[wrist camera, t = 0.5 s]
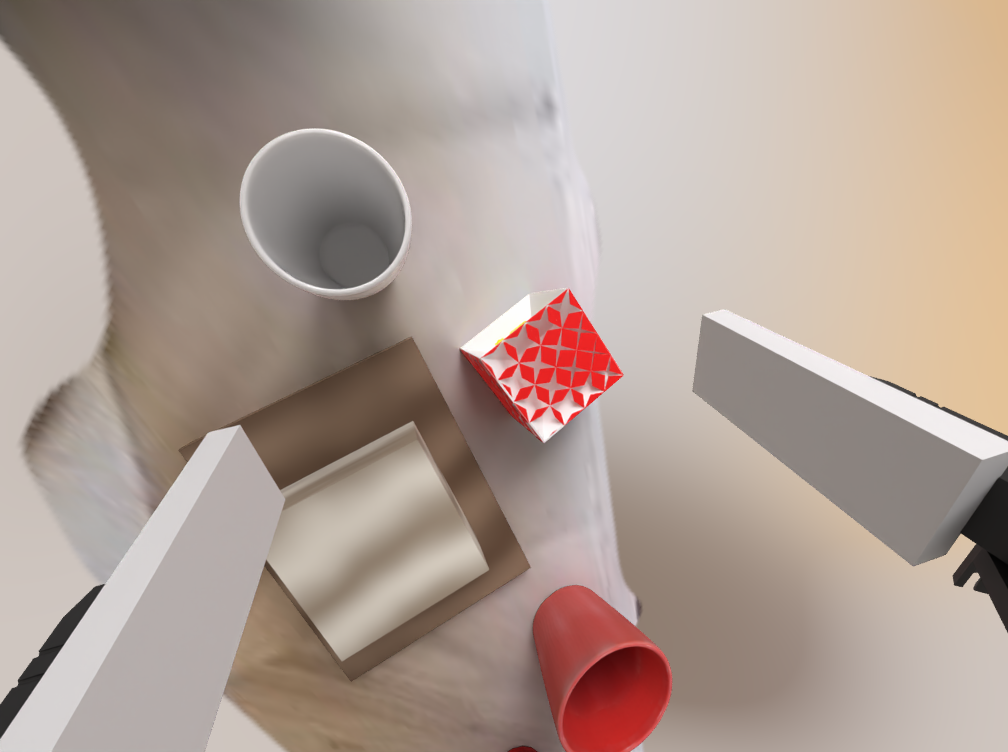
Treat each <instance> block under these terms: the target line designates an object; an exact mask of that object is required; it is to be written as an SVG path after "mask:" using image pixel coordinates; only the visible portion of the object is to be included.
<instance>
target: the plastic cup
mask: <svg viewBox="0 0 1008 752" xmlns="http://www.w3.org/2000/svg"><path fill="white" fill-rule="evenodd" d="M508 752H537V751H536V750H534V749H533V748H532V747H525V746H522V747H518V748H513V749H511V750H510V751H508Z"/></svg>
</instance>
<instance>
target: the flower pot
mask: <svg viewBox="0 0 1008 752" xmlns="http://www.w3.org/2000/svg"><path fill="white" fill-rule="evenodd" d="M533 635H534V640H535V644H536V649H537V654H538V659H539V663H540V667H541V672H542V676H543V680H544V684H545V688H546V692H547V696H548V700H549V704H550V708H551V712H552V715H553V719H554V723H555V726H556V730H557V734H558V737H559V740H560V742H561V744H562V746H563V748H564V749H565V751H566V752H630V751H632V750H633V749H634V748H636V747H637V746H638V745H640V744H641V743H642V742H643V741H644V740H645V739H646V738H647V737H648V736H649V735H650V734H651V732H652V731H653V730H654V729H655V727H656V726H657V724H658V723H659V722H660V720H661V718H662V716H663V714H664V712H665V710H666V708H667V706H668V703H669V700H670V696H671V690H672V673H671V668H670V665H669V662H668V660H667V658H666V657H665V655H664V653H663V652H662V651H661V650H660V649H659V648H658V647H657V646H656V645H655V644H654V643H653V642H652V641H651V640H650V639H649V638H648V637H647V636H645V635H644V634H643V633H642V632H641V631H640V630H639V629H638V628H636V627H635V626H634V625H633V624H632V623H631V622H629V621H628V620H627V619H626V618H625V617H624V616H623V615H621V614H620V613H619V612H618V611H616V610H615V609H614V608H613V607H612V606H610V605H609V604H608V603H607V602H605V601H604V600H603V599H602V598H600V597H599V596H598V595H597V594H595V593H594V592H593V591H592V590H590V589H588V588H586V587H584V586H579V585H572V586H567V587H563V588H561V589H559V590H557V591H555V592H554V593H553V594H552V595H551V596H550V597H548V598H547V599H546V600H545V601H544V602H543V603H542V604H541V606H540V607H539V609H538V611H537V613H536V615H535V619H534V623H533Z"/></svg>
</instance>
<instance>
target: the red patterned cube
mask: <svg viewBox="0 0 1008 752" xmlns="http://www.w3.org/2000/svg"><path fill="white" fill-rule="evenodd" d="M460 350H461V351H462V353H463V354H464V356H465V357H466V358H467V360H468V359H469V360H468V361H469V362H470V363H471V364H472V365H473V366H474V368H475V369H476V370H477V372H478V373H479V374H480V376H481V377H482V378H483V379H484V381H485V382H486V383H487V385H488V386H489V387H490V388H491V390H492V391H493V392H494V394H495V395H496V396H497V398H498V399H499V400H500V401H501V403H502V404H503V405H504V407H505V408H506V409H507V411H508V412H509V413H510V415H511V416H512V417H513V418H514V419H516V420H517V421H518V422H519V423H520V424H522V425H523V426H524V427H526V429H527V430H529V431H530V432H531V433H532V434H534V435H535V436H536V438H538V439H539V440H540V441H542V442H543V443H545V442H546V441H547V440H549V439H550V438H551V437H552V436H553V435H554V434H556V433H557V432H558V431H559V430H560V429H561V428H563V427H564V426H565V425H566V424H567V423H568V422H570V421H571V420H572V419H573V418H574V417H575V416H577V415H578V414H579V413H580V412H581V411H582V410H584V409H585V408H586V407H587V406H588V405H589V404H591V403H592V402H593V401H594V400H595V399H597V398H598V397H599V396H600V395H601V394H602V393H603V392H605V391H606V390H607V389H608V388H609V387H611V386H612V385H613V384H614V383H615V382H616V381H618V380H619V379H620V378H621V377H622V376H623V373H622V371H621V370H620V368H619V367H618V365H617V363H616V362H615V360H614V359H613V357H612V356H611V354H610V353H609V351H608V349H607V348H606V346H605V345H604V343H603V341H602V340H601V338H600V337H599V335H598V334H597V332H596V330H595V329H594V327H593V326H592V324H591V323H590V321H589V319H588V318H587V316H586V315H585V313H584V312H583V310H582V308H581V307H580V305H579V304H578V302H577V300H576V299H575V297H574V296H573V294H572V293H571V291H570V289H569V288H564V289H556V290H549V291H542V292H535V293H529V294H528V295H527V296H526V297H525V298H523V299H522V300H521V301H520V302H518V303H517V304H516V305H515V306H513V307H512V308H511V309H509V310H508V311H507V312H506V313H504V314H503V315H502V316H501V317H499V318H498V319H497V320H496V321H494V322H493V323H492V324H490V325H489V326H488V327H487V328H485V329H484V330H483V331H482V332H480V333H479V334H478V335H476V336H475V337H474V338H473V339H471V340H470V341H469V342H468V343H466V344H465V345H464V346H463V347H461V348H460Z"/></svg>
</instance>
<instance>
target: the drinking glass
mask: <svg viewBox="0 0 1008 752" xmlns="http://www.w3.org/2000/svg"><path fill="white" fill-rule="evenodd" d="M239 205H240V214H241V220H242V224H243V227H244V230H245V233H246V235H247V238H248V240H249V242H250V243H251V245H252V247H253V249H254V250H255V252H256V253H257V255H258V256H259V257H260V258H261V260H262V261H263V262H264V263H265V264H266V265H267V266H268V267H269V268H270V269H271V270H272V271H273V272H274V273H275V274H277V275H278V276H279V277H281V278H282V279H283V280H285V281H287V282H288V283H290V284H292V285H294V286H296V287H297V288H299V289H301V290H303V291H306V292H308V293H311V294H313V295H316V296H319V297H323V298H327V299H332V300H357V299H362V298H366V297H369V296H372V295H374V294H376V293H378V292H380V291H381V290H383V289H384V288H386V287H387V286H388V285H389V284H390V283H391V282H392V281H393V280H394V279H395V278H396V277H397V275H398V274H399V272H400V271H401V269H402V267H403V266H404V264H405V261H406V259H407V256H408V252H409V249H410V243H411V234H412V215H411V208H410V203H409V200H408V196H407V193H406V191H405V189H404V186H403V184H402V182H401V180H400V179H399V177H398V175H397V174H396V172H395V171H394V170H393V168H392V167H391V166H390V164H389V163H388V162H387V161H386V160H385V159H384V158H383V157H382V156H381V155H380V154H379V153H378V152H376V151H375V150H374V149H373V148H371V147H370V146H368V145H367V144H365V143H364V142H362V141H360V140H358V139H356V138H354V137H352V136H350V135H347V134H344V133H341V132H338V131H333V130H328V129H317V128H311V129H301V130H296V131H292V132H289V133H286V134H283V135H281V136H279V137H277V138H275V139H273V140H272V141H270V142H269V143H268V144H266V145H265V146H264V147H263V148H262V149H261V150H259V152H258V153H257V154H256V155H255V156H254V158H253V159H252V161H251V162H250V164H249V165H248V167H247V169H246V171H245V174H244V177H243V180H242V184H241V189H240V200H239Z"/></svg>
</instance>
